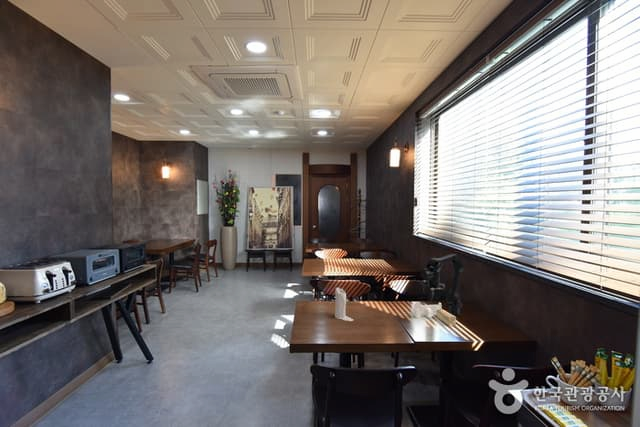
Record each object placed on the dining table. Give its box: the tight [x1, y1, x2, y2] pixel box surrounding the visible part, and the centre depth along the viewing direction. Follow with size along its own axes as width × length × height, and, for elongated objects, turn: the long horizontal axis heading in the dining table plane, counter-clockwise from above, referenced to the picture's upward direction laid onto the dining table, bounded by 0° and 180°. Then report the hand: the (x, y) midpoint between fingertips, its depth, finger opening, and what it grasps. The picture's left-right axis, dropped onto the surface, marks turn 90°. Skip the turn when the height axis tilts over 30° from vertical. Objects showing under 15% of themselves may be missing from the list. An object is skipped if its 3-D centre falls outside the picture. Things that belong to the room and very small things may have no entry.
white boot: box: [334, 287, 354, 322], centre depth 214 cm, size 7×14×20 cm, turn 53°
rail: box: [436, 308, 457, 327], centre depth 212 cm, size 4×16×6 cm, turn 10°
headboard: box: [413, 302, 443, 319], centre depth 222 cm, size 21×6×9 cm, turn 100°
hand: (434, 300), depth 216 cm, fingers open, 9 cm apart
